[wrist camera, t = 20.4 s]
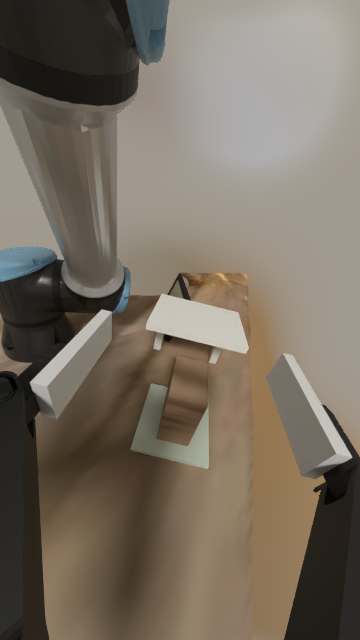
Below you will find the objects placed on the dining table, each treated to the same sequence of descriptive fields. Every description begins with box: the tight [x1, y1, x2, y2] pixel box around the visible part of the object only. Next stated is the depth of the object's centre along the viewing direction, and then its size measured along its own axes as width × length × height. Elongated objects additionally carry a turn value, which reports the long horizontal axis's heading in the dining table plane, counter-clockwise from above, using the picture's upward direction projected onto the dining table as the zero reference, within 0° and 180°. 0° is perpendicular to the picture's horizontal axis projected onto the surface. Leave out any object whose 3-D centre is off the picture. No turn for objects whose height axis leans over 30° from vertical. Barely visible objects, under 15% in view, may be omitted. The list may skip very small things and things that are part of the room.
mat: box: [130, 383, 209, 469], centre depth 38 cm, size 14×14×1 cm
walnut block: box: [156, 355, 208, 446], centre depth 34 cm, size 9×6×13 cm, turn 173°
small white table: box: [146, 294, 249, 364], centre depth 46 cm, size 14×20×18 cm
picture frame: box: [165, 274, 191, 342], centre depth 66 cm, size 23×9×15 cm, turn 8°
